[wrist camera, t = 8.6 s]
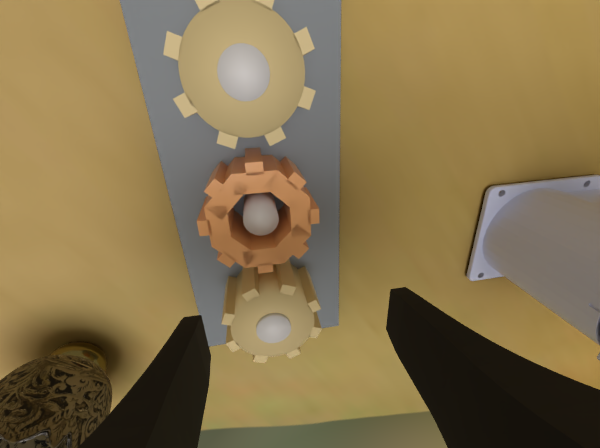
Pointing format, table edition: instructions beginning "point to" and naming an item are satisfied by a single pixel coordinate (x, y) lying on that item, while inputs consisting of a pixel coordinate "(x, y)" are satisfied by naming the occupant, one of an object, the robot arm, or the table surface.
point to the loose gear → (229, 224)
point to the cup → (55, 399)
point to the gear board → (248, 134)
